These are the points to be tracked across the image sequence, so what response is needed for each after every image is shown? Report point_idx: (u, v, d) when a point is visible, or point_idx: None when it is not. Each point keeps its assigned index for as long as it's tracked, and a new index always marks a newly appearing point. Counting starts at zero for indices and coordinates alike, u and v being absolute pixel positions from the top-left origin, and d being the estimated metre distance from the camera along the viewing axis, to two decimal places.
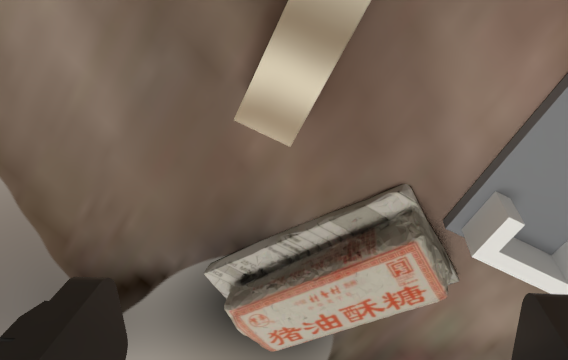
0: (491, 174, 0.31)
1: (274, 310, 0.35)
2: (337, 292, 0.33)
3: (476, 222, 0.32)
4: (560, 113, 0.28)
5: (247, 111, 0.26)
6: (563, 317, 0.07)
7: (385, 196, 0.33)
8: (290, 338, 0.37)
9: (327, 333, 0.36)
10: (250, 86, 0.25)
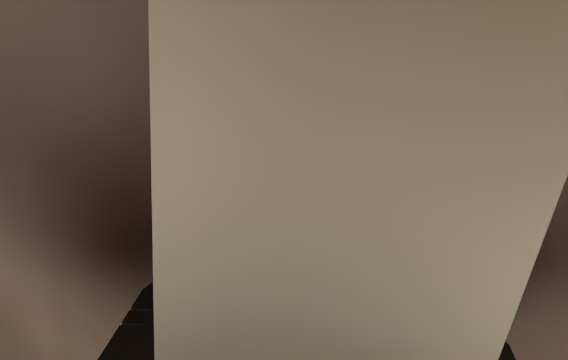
0: None
1: None
2: None
3: None
4: None
5: None
6: None
7: None
8: None
9: None
10: None
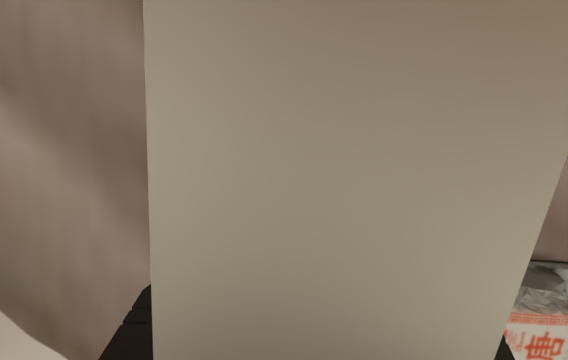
0: None
1: None
2: None
3: None
4: None
5: None
6: None
7: None
8: None
9: None
10: None
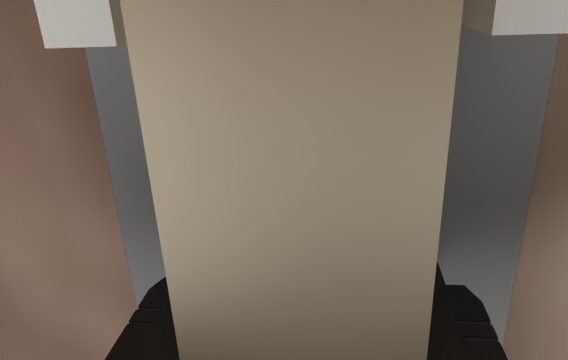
0: None
1: None
2: None
3: None
4: (146, 207, 0.12)
5: None
6: None
7: None
8: None
9: None
10: None
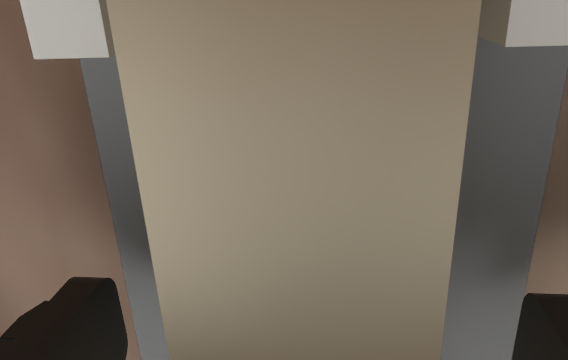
0: None
1: None
2: None
3: None
4: (143, 220, 0.12)
5: None
6: (563, 317, 0.07)
7: None
8: None
9: None
10: None
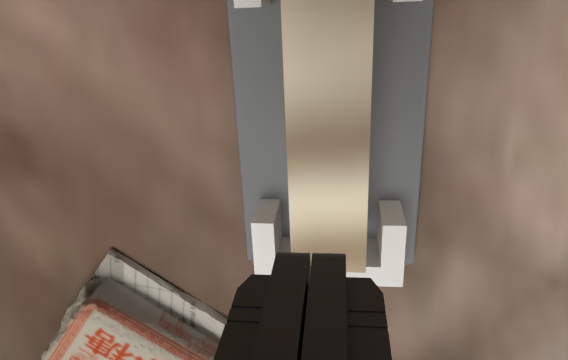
0: None
1: None
2: None
3: None
4: (249, 92, 0.25)
5: None
6: (323, 269, 0.09)
7: None
8: None
9: None
10: (291, 229, 0.22)
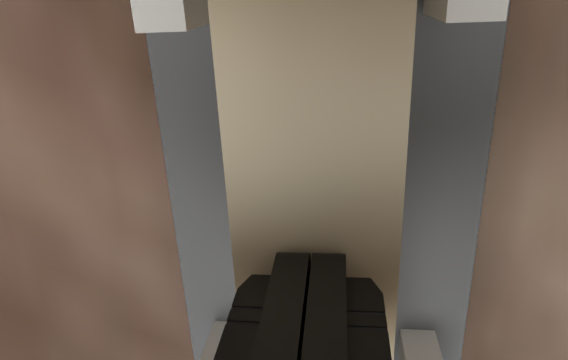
0: (185, 299, 0.17)
1: None
2: None
3: None
4: (189, 164, 0.15)
5: None
6: (323, 269, 0.09)
7: None
8: None
9: None
10: None
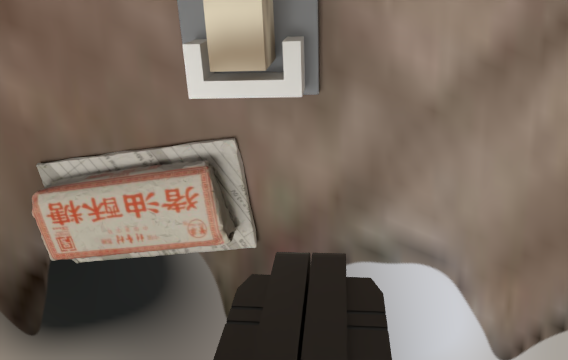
0: (180, 26, 0.34)
1: (178, 236, 0.37)
2: (118, 236, 0.38)
3: None
4: None
5: (216, 58, 0.30)
6: (323, 269, 0.09)
7: (89, 261, 0.43)
8: (177, 194, 0.36)
9: (141, 186, 0.36)
10: (207, 34, 0.29)
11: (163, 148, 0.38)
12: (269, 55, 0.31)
